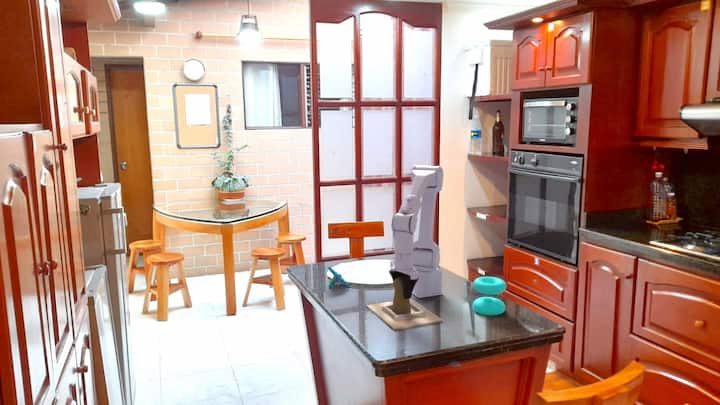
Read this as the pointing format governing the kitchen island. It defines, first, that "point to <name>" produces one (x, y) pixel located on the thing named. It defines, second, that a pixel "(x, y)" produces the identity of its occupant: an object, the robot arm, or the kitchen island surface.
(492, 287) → the donuts
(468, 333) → the kitchen island surface
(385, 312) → the socket board
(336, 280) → the teal angled piece
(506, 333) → the kitchen island surface
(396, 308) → the cork
